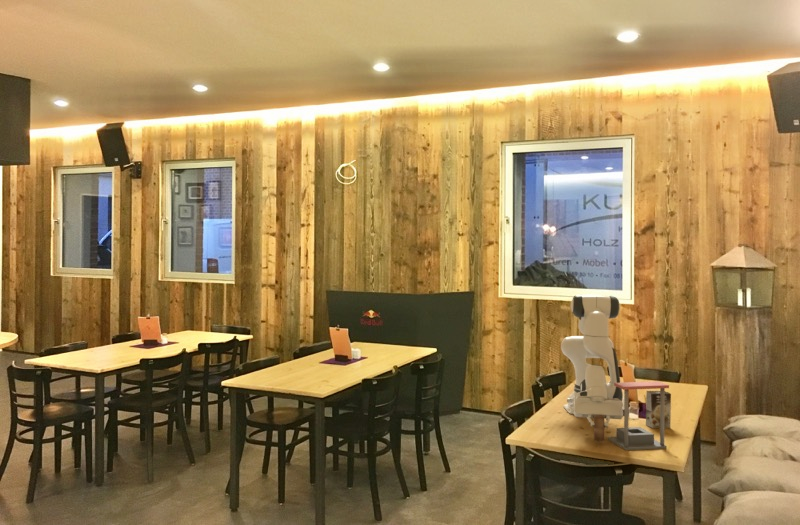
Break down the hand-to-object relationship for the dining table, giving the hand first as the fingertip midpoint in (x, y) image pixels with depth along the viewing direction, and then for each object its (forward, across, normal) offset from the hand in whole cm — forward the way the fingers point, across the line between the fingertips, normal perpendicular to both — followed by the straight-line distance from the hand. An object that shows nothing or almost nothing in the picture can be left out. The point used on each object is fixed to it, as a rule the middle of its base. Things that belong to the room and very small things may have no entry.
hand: (599, 426), depth 258 cm
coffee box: (-18, -30, -31) cm, 47 cm away
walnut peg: (+4, 0, -5) cm, 6 cm away
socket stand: (+2, -16, -9) cm, 18 cm away
